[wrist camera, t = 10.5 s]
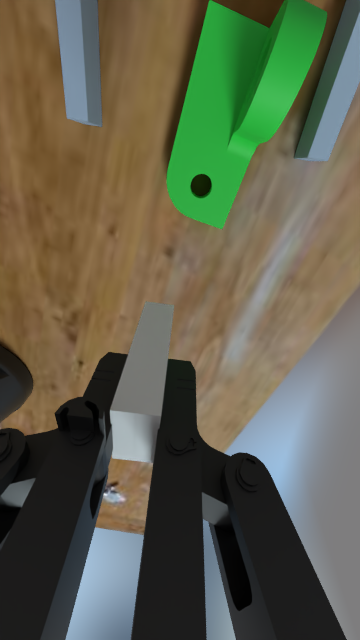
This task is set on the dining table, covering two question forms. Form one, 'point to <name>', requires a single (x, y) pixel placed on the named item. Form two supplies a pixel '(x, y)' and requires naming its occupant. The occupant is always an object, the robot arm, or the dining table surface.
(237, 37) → the mechanical part
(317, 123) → the hub cradle
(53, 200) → the dining table surface
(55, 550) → the robot arm
